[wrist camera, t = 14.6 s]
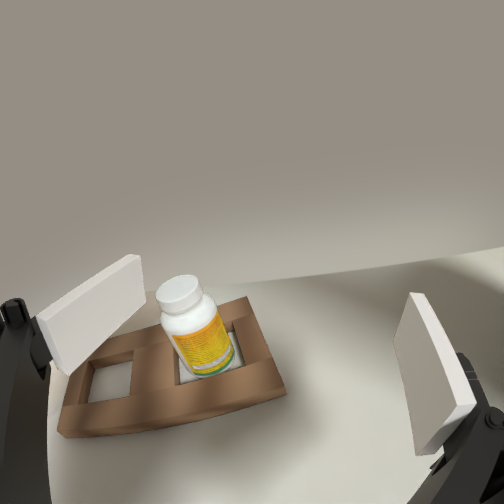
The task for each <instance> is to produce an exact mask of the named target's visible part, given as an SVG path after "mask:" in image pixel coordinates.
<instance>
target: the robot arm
mask: <svg viewBox="0 0 504 504" xmlns="http://www.w3.org/2000/svg"><path fill="white" fill-rule="evenodd" d="M146 302H147V301H146V295H145V288H144V281H143V273H142V265H141V257H140V256H139V255H133V254H128V255H126V256H125V257H123V258H122V259H120V260H118V261H117V262H116V263H114V264H112V265H110V266H109V267H107V268H106V269H104V270H102V271H101V272H99V273H98V274H97V275H95V276H93V277H92V278H90V279H88V280H87V281H85V282H84V283H82V284H81V285H79V286H78V287H76V288H75V289H73V290H72V291H70V292H69V293H67V294H66V295H64V296H63V297H61V298H60V299H58V300H57V301H55V302H54V303H53V304H51V305H50V306H48V307H47V308H45V309H44V310H43V311H41V312H40V313H38V314H37V315H36V316H34V317H33V318H32V319H30V316H29V313H28V310H27V308H26V305H25V302H24V300H23V299H21V298H14V299H10V300H9V301H6V302H5V303H3V304H2V305H1V307H0V310H1V312H2V315H3V318H4V320H5V322H4V321H3V319H2V316H1V314H0V504H52V502H51V495H50V486H49V476H48V461H47V412H48V396H49V385H50V375H51V366H50V364H49V362H50V361H51V360H52V359H53V360H54V362H55V365H56V367H57V369H58V370H60V371H61V372H63V373H65V374H66V375H68V376H69V375H70V374H71V373H72V372H73V371H74V370H75V369H76V368H77V367H79V366H80V365H81V364H82V363H83V362H84V361H85V360H86V359H87V358H88V357H89V356H90V355H91V354H92V353H93V352H94V351H95V350H96V349H97V348H98V347H99V346H100V345H101V344H102V343H103V342H104V341H105V340H106V339H107V338H108V337H109V336H111V335H112V334H113V333H114V332H115V331H116V330H117V329H118V328H119V327H120V326H121V325H122V324H123V323H124V322H125V321H126V320H127V319H129V318H130V317H131V316H132V315H133V314H134V313H135V312H136V311H137V310H138V309H139V308H140V307H141V306H143V305H144V304H145V303H146ZM393 343H394V347H395V351H396V355H397V359H398V363H399V367H400V371H401V375H402V380H403V384H404V389H405V394H406V399H407V404H408V409H409V415H410V420H411V427H412V433H413V440H414V447H415V455H416V456H421V455H430V454H435V453H436V452H437V451H438V449H439V448H440V447H441V446H442V445H443V447H444V454H443V455H442V456H441V457H440V458H439V459H438V460H437V461H436V462H435V463H434V464H433V465H432V466H431V467H430V469H432V468H433V467H434V468H433V469H432V471H431V472H430V474H429V475H428V477H427V478H426V480H425V481H424V482H423V484H422V485H421V486H420V488H419V489H418V490H417V492H416V493H415V494H414V496H413V497H412V498H411V500H410V501H409V502H408V503H407V504H504V413H503V412H502V411H501V410H499V409H498V408H495V407H490V406H489V404H488V401H487V399H486V396H485V394H484V392H483V389H482V387H481V385H480V383H479V380H477V376H476V374H475V372H474V369H473V367H472V365H471V363H470V361H469V360H468V359H467V358H466V357H465V356H464V355H463V354H462V353H455V351H454V349H453V347H452V345H451V343H450V341H449V339H448V337H447V335H446V333H445V331H444V329H443V327H442V326H441V324H440V322H439V320H438V318H437V316H436V314H435V313H434V311H433V309H432V307H431V305H430V304H429V302H428V300H427V298H426V297H425V295H424V294H422V293H413V292H409V295H408V298H407V302H406V305H405V308H404V311H403V314H402V317H401V320H400V323H399V326H398V329H397V331H396V334H395V337H394V340H393Z"/></svg>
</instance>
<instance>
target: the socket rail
mask: <svg viewBox="0 0 504 504" xmlns="http://www.w3.org/2000/svg"><path fill="white" fill-rule="evenodd" d="M217 308H218V310H219V313H220V316H221V318H222V321H223V323H224V326H225V328H226V330H227V333H228V332H231V331H234V330H235V332H236V335H237V338H238V342H239V345H240V348H241V351H242V355H243V358H244V361H245V364H246V366H244V367H241V368H238V369H234V370H231V371H228V372H225V373H221V374H218V375H215V376H211V377H208V378H204V379H201V380H197V381H193V382H190V383H186V384H182V385H180V372H179V355H178V353H177V352H176V350H175V348H174V347H173V345H172V343H171V342H170V340H169V338H168V336H167V335H166V333H165V331H164V329H163V327H162V325H161V324H158V325H155V326H151V327H148V328H144V329H141V330H138V331H134V332H131V333H127V334H124V335H120V336H117V337H113V338H109V339H106V340H105V341H104V342H103V343H102V344H101V345H100V346H99V347H98V348H97V349H96V350H95V351H94V352H93V353H92V354H91V355H90V356H89V357H88V358H87V359H86V360H85V361H84V362H83V363H82V364H81V365H80V366H79V367H77V368H76V369H75V370H74V371H73V372H72V373H71V375H70V378H69V382H68V386H67V389H66V393H65V397H64V401H63V405H62V409H61V413H60V418H59V423H58V427H57V431H58V432H59V433H60V434H61V435H62V436H64V437H65V438H81V437H97V436H109V435H118V434H127V433H135V432H142V431H148V430H154V429H160V428H166V427H171V426H176V425H181V424H186V423H190V422H195V421H199V420H203V419H207V418H211V417H215V416H219V415H223V414H226V413H230V412H233V411H237V410H240V409H243V408H247V407H250V406H253V405H256V404H259V403H262V402H265V401H268V400H271V399H274V398H277V397H280V396H283V395H285V394H287V393H286V390H285V386H284V383H283V381H282V379H281V376H280V374H279V372H278V369H277V367H276V365H275V362H274V360H273V358H272V355H271V353H270V351H269V348H268V346H267V344H266V341H265V339H264V336H263V334H262V332H261V329H260V327H259V325H258V322H257V320H256V317H255V315H254V312H253V310H252V308H251V305H250V303H249V300H248V298H247V296H246V297H243V298H240V299H237V300H234V301H231V302H228V303H225V304H222V305H219V306H217ZM131 360H133V365H132V375H131V385H130V396H128V397H123V398H117V399H112V400H106V401H99V402H93V403H87V402H88V396H89V391H90V387H91V382H92V377H93V373H94V369H97V368H101V367H105V366H110V365H114V364H118V363H122V362H127V361H131Z"/></svg>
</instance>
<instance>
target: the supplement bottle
mask: <svg viewBox="0 0 504 504" xmlns="http://www.w3.org/2000/svg"><path fill="white" fill-rule="evenodd" d="M155 296H156V299H157V302H158V304H159V306H160V308H161V310H162V312H161V317H160V321H161V325H162V327H163V329H164V331H165V333H166V335H167V336H168V338H169V340H170V342H171V343H172V345H173V347H174V348H175V350H176V352H177V353H178V355H179V357H180V359H181V360H182V362H183V364H184V365H185V367H186V368H187V370H188V371H189V372H190V373H191V374H192V375H193V376H195V377H198V378H208V377H211V376H215V375H218V374H221V373H224V372H226V371H227V370H228V369H229V368H230V367H231V365H232V364H233V361H234V358H235V351H234V348H233V345H232V343H231V340H230V338H229V336H228V333H227V330H226V328H225V326H224V323H223V321H222V318H221V316H220V313H219V310H218V308H217V305H216V303H215V301H214V300H213V298H212V297H211V296H209V295H208V294H206V293H203V289H202V287H201V285H200V282H199V280H198V279H197V277H196V276H194V275H189V274H184V275H179V276H176V277H174V278H171V279H169V280H167V281H166V282H164V283H163V284H162V285H161V286H160V287H159V288H158V289H157V291H156V295H155Z"/></svg>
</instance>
